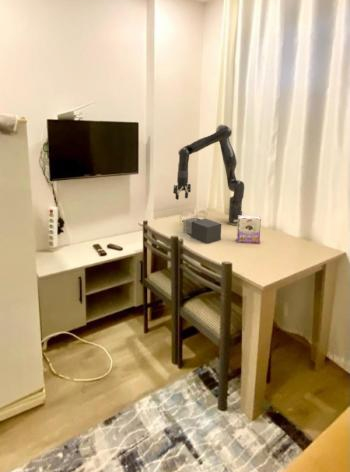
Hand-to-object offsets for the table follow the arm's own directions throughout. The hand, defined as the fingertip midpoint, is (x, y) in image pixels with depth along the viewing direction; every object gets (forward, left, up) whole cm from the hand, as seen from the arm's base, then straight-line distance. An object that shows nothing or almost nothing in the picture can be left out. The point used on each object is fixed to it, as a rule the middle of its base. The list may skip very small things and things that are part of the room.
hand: (181, 198), depth 230 cm
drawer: (+2, +16, -20) cm, 25 cm away
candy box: (-16, +48, -21) cm, 55 cm away
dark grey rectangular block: (+2, +28, -21) cm, 35 cm away
